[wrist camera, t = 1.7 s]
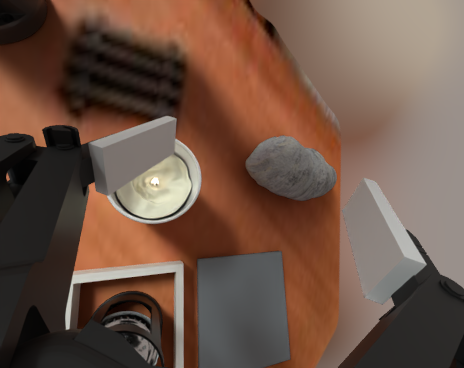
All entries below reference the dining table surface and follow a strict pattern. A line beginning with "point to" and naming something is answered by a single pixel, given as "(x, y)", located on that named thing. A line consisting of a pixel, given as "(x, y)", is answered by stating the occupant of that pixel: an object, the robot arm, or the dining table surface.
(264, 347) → the slate mat
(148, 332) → the french press
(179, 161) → the candle holder
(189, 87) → the dining table surface
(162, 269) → the holder frame
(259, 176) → the seashell
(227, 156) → the dining table surface
